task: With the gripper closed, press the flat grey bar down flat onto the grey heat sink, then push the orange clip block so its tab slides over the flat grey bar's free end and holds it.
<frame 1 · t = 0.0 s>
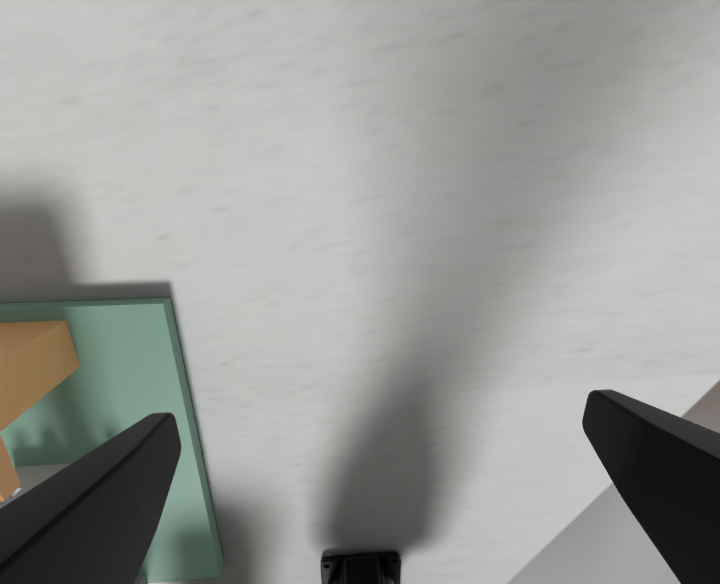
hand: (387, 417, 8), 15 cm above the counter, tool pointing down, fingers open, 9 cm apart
heatsink board: (82, 457, 25), on the counter
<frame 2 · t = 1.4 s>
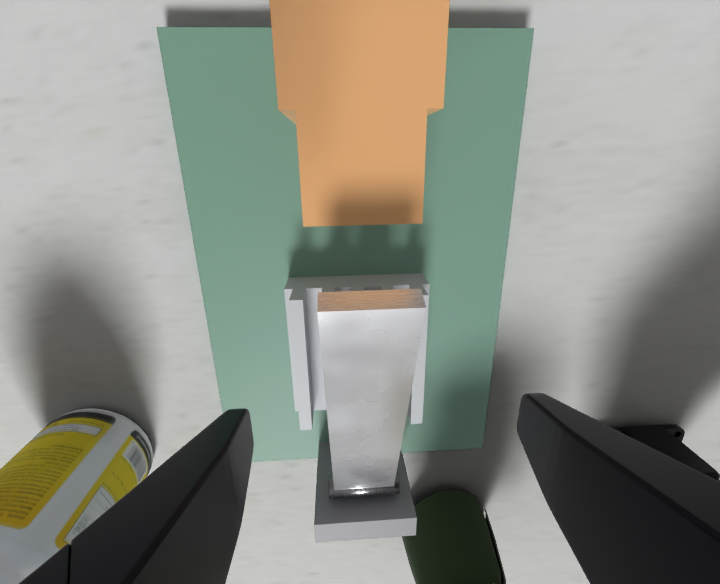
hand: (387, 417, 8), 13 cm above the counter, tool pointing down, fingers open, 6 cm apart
pill bottle: (106, 443, 23), on the counter
heatsink board: (354, 278, 21), on the counter
clip: (356, 126, 14), point 4 cm above the counter, slide at 0.0 cm
character mug: (440, 512, 27), on the counter
flat grey bar: (365, 422, 15), point 7 cm above the counter, hinge at 22.0°
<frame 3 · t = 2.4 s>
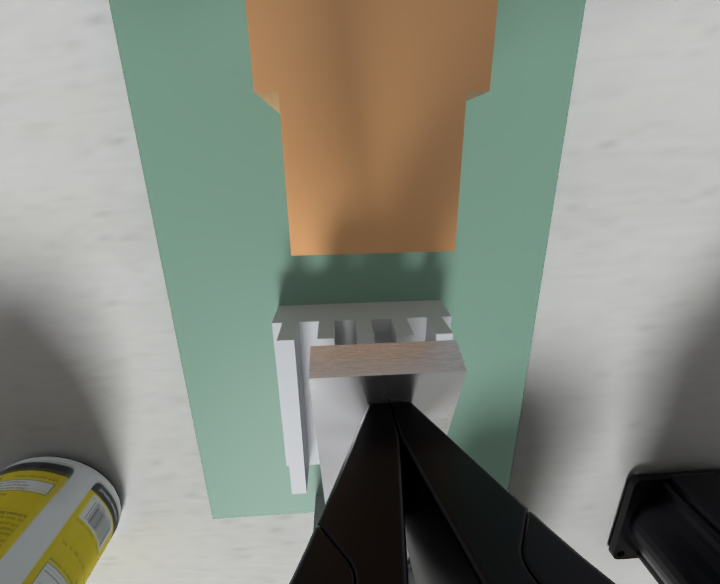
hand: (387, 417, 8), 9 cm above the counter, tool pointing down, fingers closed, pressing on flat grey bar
pill bottle: (66, 494, 20), on the counter
heatsink board: (358, 305, 17), on the counter
clip: (363, 119, 11), point 4 cm above the counter, slide at 0.0 cm
flat grey bar: (374, 498, 12), point 7 cm above the counter, hinge at 20.5°, touching gripper
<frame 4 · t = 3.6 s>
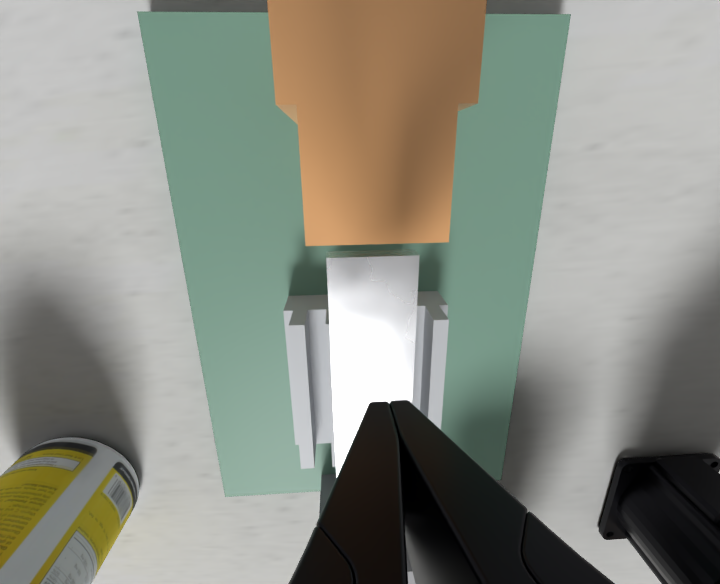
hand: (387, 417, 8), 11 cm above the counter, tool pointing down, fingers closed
pill bottle: (88, 474, 21), on the counter
heatsink board: (362, 296, 18), on the counter
clip: (368, 125, 12), point 4 cm above the counter, slide at 0.0 cm
flat grey bar: (372, 419, 15), point 5 cm above the counter, hinge at 1.7°
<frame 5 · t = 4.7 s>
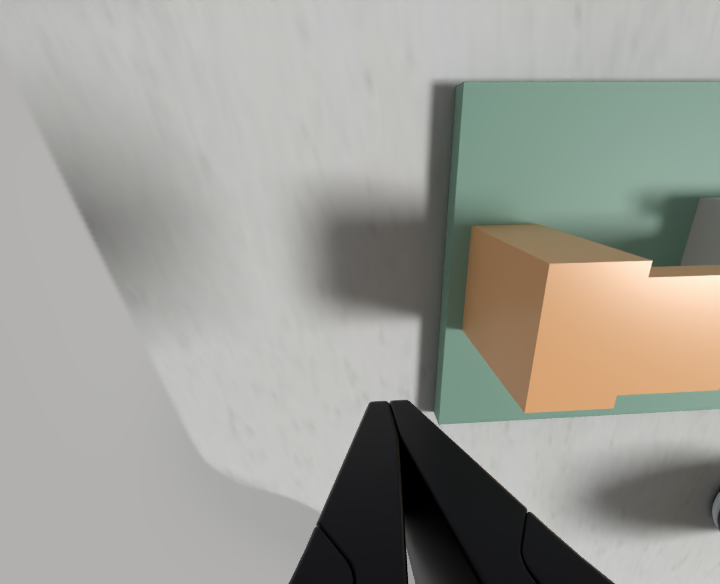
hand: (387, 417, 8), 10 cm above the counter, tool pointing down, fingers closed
heatsink board: (669, 267, 18), on the counter
clip: (576, 302, 14), point 4 cm above the counter, slide at 0.0 cm
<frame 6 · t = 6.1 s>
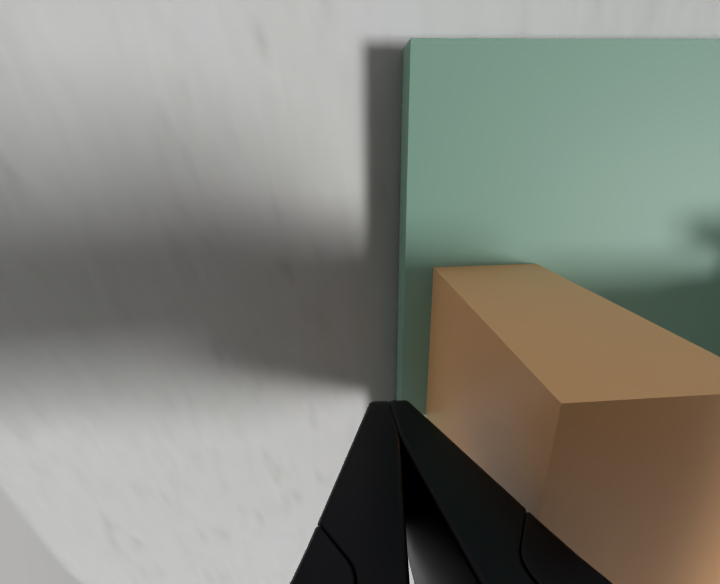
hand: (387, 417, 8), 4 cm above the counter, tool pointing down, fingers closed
clip: (600, 403, 9), point 4 cm above the counter, slide at 0.0 cm, touching gripper
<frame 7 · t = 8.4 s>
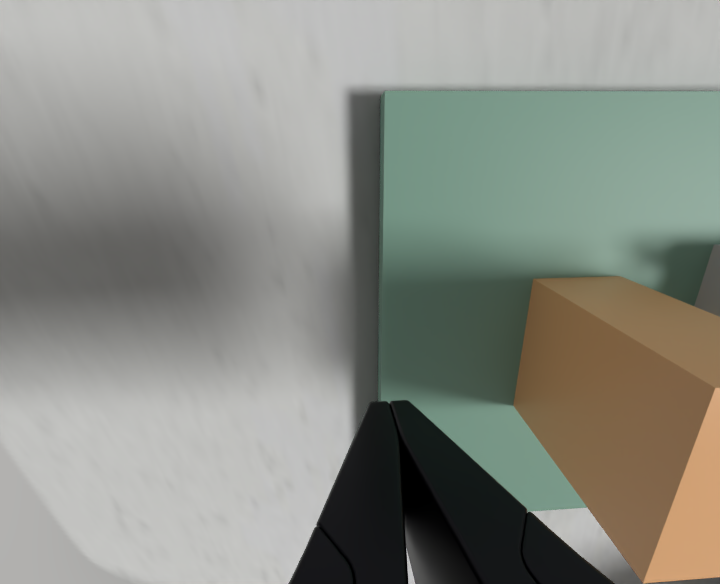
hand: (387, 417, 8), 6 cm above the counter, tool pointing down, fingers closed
heatsink board: (672, 327, 14), on the counter
clip: (688, 394, 10), point 4 cm above the counter, slide at 4.2 cm
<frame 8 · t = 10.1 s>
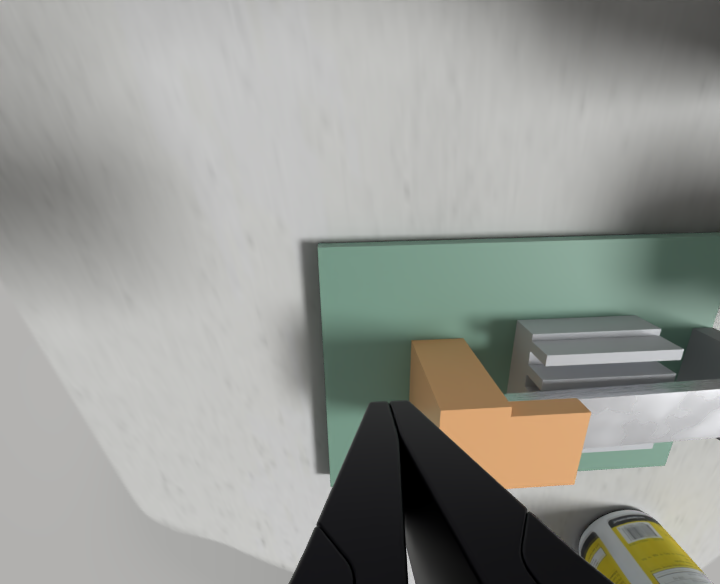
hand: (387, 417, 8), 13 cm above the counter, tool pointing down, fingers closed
pill bottle: (612, 532, 29), on the counter
heatsink board: (510, 364, 23), on the counter
clip: (483, 409, 19), point 4 cm above the counter, slide at 4.2 cm
flat grey bar: (621, 415, 18), point 5 cm above the counter, hinge at 1.7°
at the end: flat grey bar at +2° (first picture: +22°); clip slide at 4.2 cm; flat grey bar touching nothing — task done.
